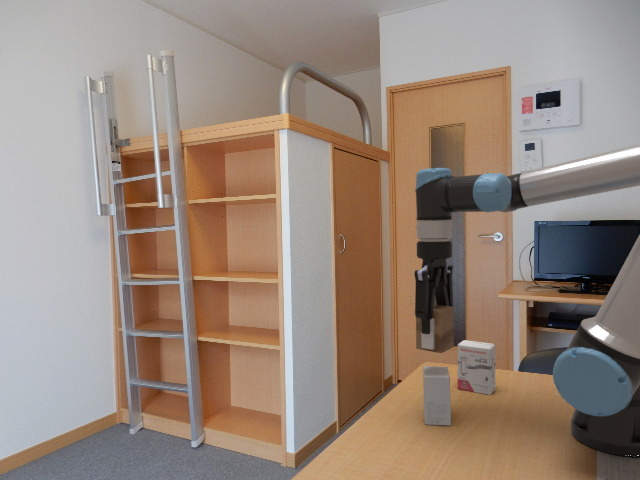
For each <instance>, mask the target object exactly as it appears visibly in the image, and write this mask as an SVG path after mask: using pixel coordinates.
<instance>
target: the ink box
mask: <svg viewBox="0 0 640 480" xmlns="http://www.w3.org/2000/svg"><path fill="white" fill-rule="evenodd" d="M457 389H458V390H463V391H468V392H474V393H477V394H484V395H489V396H490V395H492V394H493V393H494V391H495V390H496V345H495V344H494V343H491V342H490V343H489V342H482V341H474V340H467V339H464V340H462V341H461V342H459V343H457Z"/></svg>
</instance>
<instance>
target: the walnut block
mask: <svg viewBox="0 0 640 480" xmlns="http://www.w3.org/2000/svg"><path fill="white" fill-rule="evenodd" d="M454 313H455V312H454V306H453V307H451V306H442V305H437V304H434V306H433V313H432V319H434V343H435V349H433V350H432V349H426V348H422V345H421V318H417V317H416V316H415V349H416V350H422V351H426V352H427V351H428V352H433V353H438V354H443V353H445V352H447V351H449V350H451V349H453V348H454V347H455V346H454V345H455V344H454V343H455V338H454V337H455V334H454V333H455V330H454V329H455V328H454V327H455V326H454V321H455V319H454V317H455V316H454Z"/></svg>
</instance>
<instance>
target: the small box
mask: <svg viewBox="0 0 640 480" xmlns="http://www.w3.org/2000/svg"><path fill="white" fill-rule="evenodd" d="M422 366H423V365H422ZM422 379H423V380H422V381H423V385H422V386H423V414H424V424H425V425H430V426H431V425H432V426H449V427H450V426H451V425H452V409H451V407H452V405H451V399H452V398H451V375H450V373H449V369H448V366H438V365H437V366H434V365H433V366H432V365H430V366H429V365H424V366H423V367H422Z"/></svg>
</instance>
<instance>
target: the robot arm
mask: <svg viewBox="0 0 640 480" xmlns="http://www.w3.org/2000/svg"><path fill="white" fill-rule="evenodd" d="M415 177H416V179H415V180H416V182H415V189H414V192H415V199H416V200H415V201H416V202H415V203H416V206H415V207H416V225H415V229H416V239H418V241H417V242H416V257H417V258H418V259H419V260H420V259H421V260H422V263H421V268H420V270H419V269H415V270H414V279H415V292H414V294H415V296H414V297H415V298H414V299H415V301H414V302H415V303H414V304H415V305H414V306H415V307H414V316H415V318H416V317H417V318H421V345H422V348H426V349H432V350H433V349H435V343H434V319H432V313H433V306H434V305H435V302H436V305H442V306H451V307H453V308H454V297H453V296H454V293H453V292H454V291H453V271H454V270H453V269H454V268H453V267H454V266H453V265H451V264H450V265H449V264H447V260H448V259H451V258H452V256H453V243H452V241H450V239H452V238H453V220H452V219H453V218H452V217H453V215H452V214H453V213H478V212H479V213H483V212H484V213H495V212H502V213H510V212H514V211H516V210H517V211H518V210H519V209H523V208H524V209H525V208H528V207H533V206H540V205H543V204H544V205H545V204H549V203H554V202H560V201H565V200H570V199H576V198H581V197H586V196H591V195H597V194H603V193H607V192H612V191H619V190H623V189H630V188H635V187H639V186H640V143H639V144H635V145H631V146H627V147H623V148H618V149H615V150H609V151H606V152H603V153H598V154H593V155H590V156H586V157H581V158H576V159H573V160H569V161H568V160H567V161H565V162H561V163H556V164H552V165H548V166H544V167H540V168H535V169H531V170H528V171H527V170H526V171H523V172H520V173H515V174H511V175H506V174H504V173H502V172H501V173H495V172H494V173H493V172H492V173H489V172H487V173H486V172H485V173H481V174H471V175H462V176H453V175H452V171H451V169H450V168H447V167H435V168H434V167H433V168H432V167H431V168H423V169H420V170H418V171H417V173H416V176H415ZM623 263H624V264H623V265H622V266H621V268H620V270H619V272H618V275H617V276H616V278H615V279H614V282H613V284H612V286H611V287H610V288H609V291H608V293H607V295H606V297H605V299H604V300H603V301H602V304H601V306H600V307H599V310H598V312H597V313H596V315H595V316H593V317H589V318H584V319H583V320H581V322H580V324H579V326H578V328H577V330H576V331H575V333H574V335H573V337H572V339H571V341H570V343H569V344H568V346H567V348H566V350H564V351H563V352H561V353H560V354H559V355H558V356H557V358H556V359H555V362H554V365H553V368H552V379H553V383H554V385H555V387H556V390H557V392H558V394H559V395H560V396H561V397H562V399H563V400H564V401H565V402H566V403H567V404H568V405H570V406H571V407H572V408H574V412H573V414H572V417H571V420H570V426H571V427H570V432H571V434H572V437H574V438H575V439H576V440H577V441H578V442H581V443H582V444H583V445H585V446H587V447H590V448H592V449H595V450H597V451H601V452H604V453H607V454H612V455H615V454H616V456H621V455H627V456H626V457H629V456H630V455H631V456H637V455H639V456H640V234H639V235H638V237H637V238H636V240H635V242H634V245H633V246H632V248H631V250H630V252H629V254H628V255H627V257H626V259H625V261H624V262H623ZM628 455H629V456H628Z"/></svg>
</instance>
